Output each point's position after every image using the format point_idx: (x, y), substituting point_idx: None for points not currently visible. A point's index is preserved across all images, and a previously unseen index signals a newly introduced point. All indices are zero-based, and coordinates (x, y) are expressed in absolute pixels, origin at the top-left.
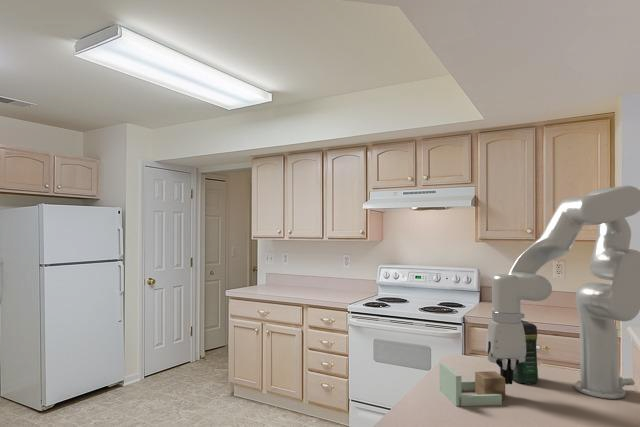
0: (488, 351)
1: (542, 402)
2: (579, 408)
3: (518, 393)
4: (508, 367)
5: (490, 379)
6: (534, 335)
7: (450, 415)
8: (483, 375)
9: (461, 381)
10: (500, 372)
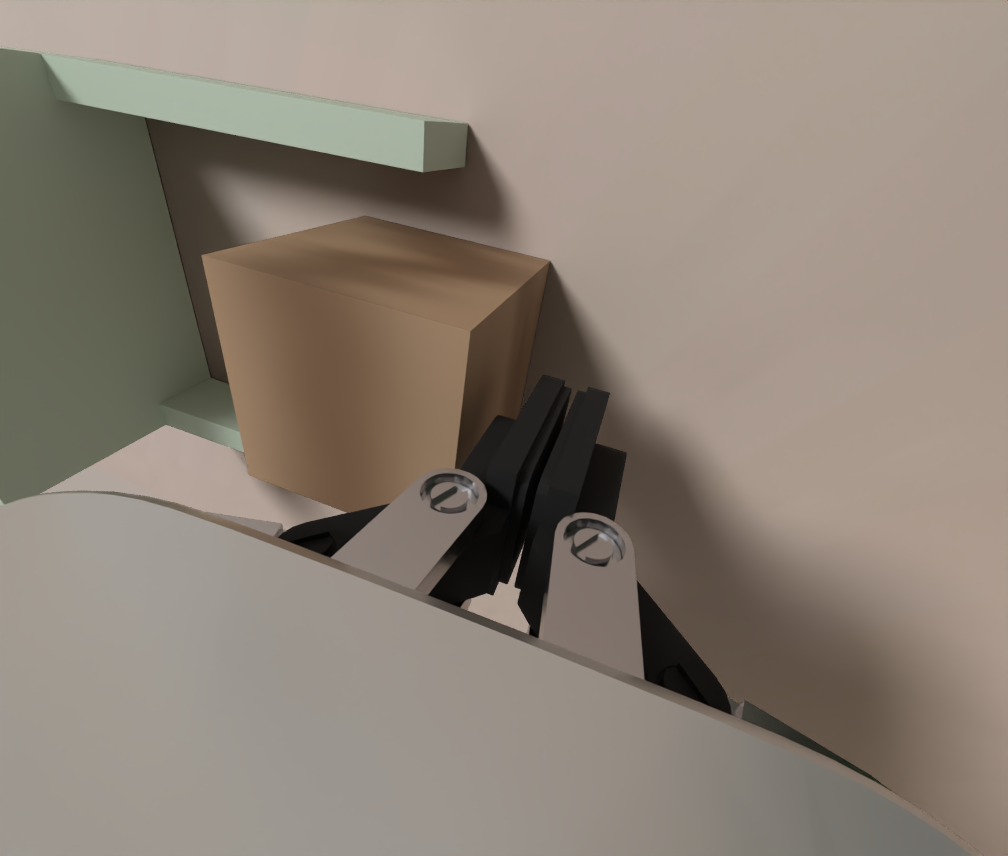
0: (22, 523)
1: (755, 563)
2: (902, 712)
3: (756, 363)
4: (522, 587)
5: (309, 489)
6: None
7: (158, 456)
8: (263, 407)
9: (196, 100)
10: (471, 454)
